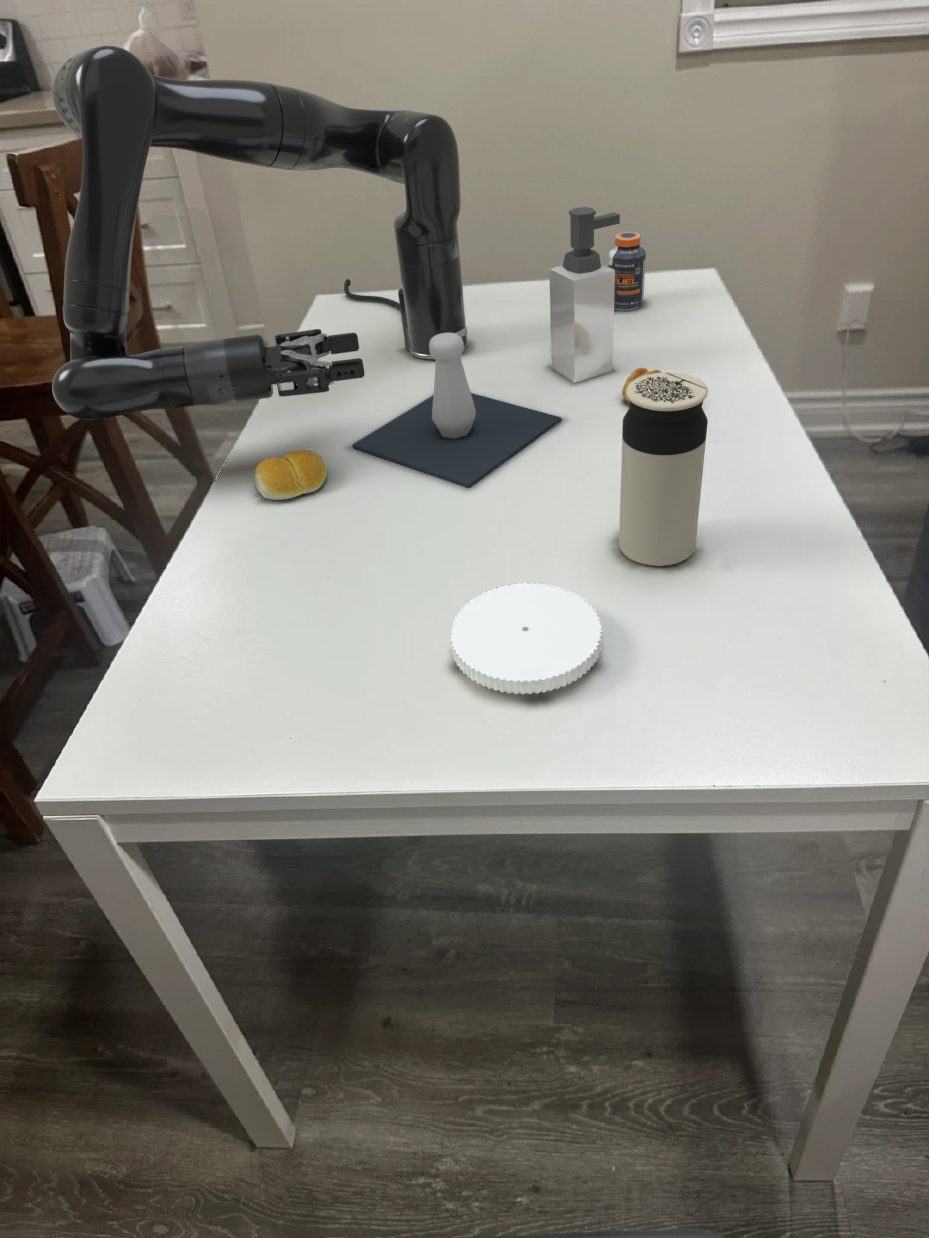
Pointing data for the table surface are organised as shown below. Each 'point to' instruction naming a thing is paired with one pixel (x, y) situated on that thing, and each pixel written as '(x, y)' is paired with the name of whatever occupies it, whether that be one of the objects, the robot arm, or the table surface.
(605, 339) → the soap dispenser
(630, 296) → the pill bottle
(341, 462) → the table surface
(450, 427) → the salt shaker
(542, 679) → the plastic lid
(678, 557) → the travel mug
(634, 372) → the pastry
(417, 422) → the mat
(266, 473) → the bread roll
